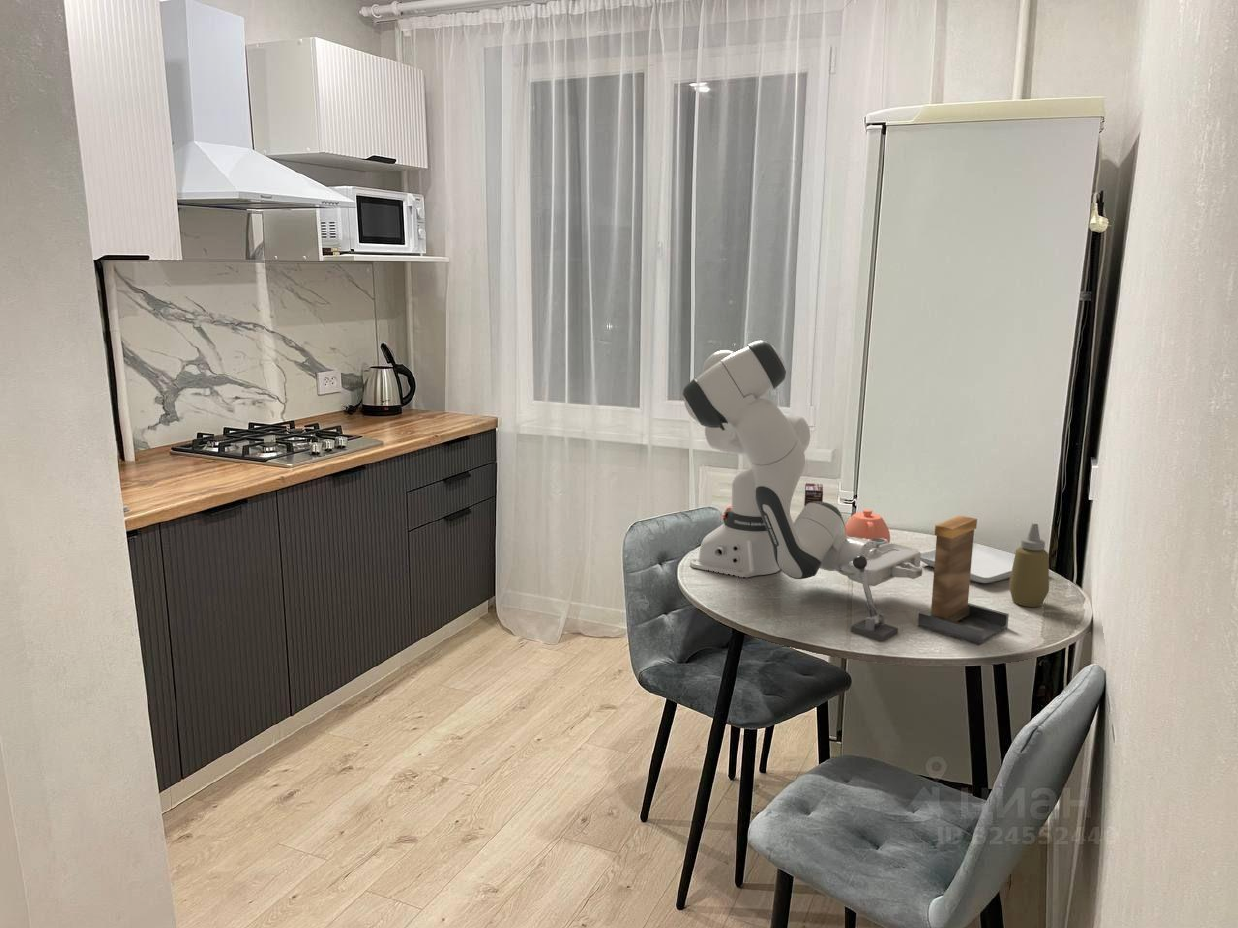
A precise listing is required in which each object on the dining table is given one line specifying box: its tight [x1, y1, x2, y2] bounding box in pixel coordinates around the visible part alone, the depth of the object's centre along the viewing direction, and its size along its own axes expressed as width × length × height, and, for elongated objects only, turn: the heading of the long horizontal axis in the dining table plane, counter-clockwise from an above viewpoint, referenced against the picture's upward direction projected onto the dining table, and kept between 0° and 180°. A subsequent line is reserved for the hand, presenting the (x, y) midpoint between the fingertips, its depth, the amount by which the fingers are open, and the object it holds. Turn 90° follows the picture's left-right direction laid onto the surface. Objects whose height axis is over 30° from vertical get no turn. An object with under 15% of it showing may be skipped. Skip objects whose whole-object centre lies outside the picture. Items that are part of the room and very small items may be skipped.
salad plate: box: [920, 542, 1015, 584], centre depth 217 cm, size 21×21×3 cm
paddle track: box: [917, 602, 1010, 646], centre depth 181 cm, size 13×13×3 cm
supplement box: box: [803, 482, 824, 508], centre depth 236 cm, size 9×5×16 cm, turn 168°
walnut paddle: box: [930, 515, 978, 622], centre depth 181 cm, size 4×11×21 cm, turn 133°
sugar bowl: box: [844, 509, 891, 543], centre depth 233 cm, size 12×14×10 cm
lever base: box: [850, 611, 899, 643], centre depth 178 cm, size 7×6×4 cm
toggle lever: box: [853, 555, 883, 627], centre depth 178 cm, size 3×3×14 cm
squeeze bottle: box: [1008, 523, 1050, 608], centre depth 193 cm, size 8×8×18 cm
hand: (919, 573), depth 186 cm, fingers closed
